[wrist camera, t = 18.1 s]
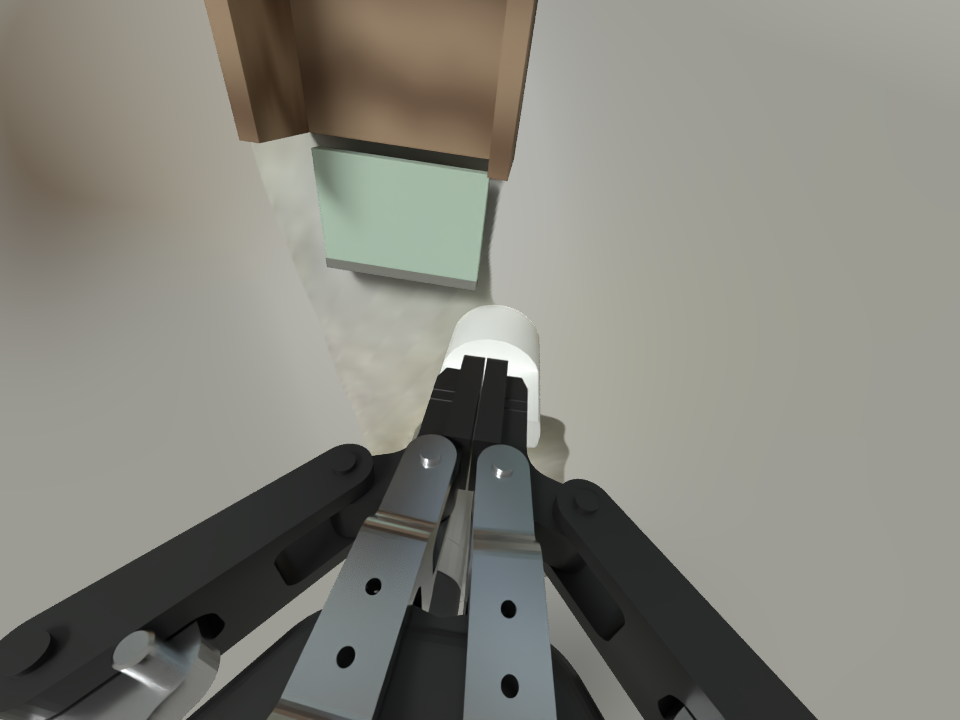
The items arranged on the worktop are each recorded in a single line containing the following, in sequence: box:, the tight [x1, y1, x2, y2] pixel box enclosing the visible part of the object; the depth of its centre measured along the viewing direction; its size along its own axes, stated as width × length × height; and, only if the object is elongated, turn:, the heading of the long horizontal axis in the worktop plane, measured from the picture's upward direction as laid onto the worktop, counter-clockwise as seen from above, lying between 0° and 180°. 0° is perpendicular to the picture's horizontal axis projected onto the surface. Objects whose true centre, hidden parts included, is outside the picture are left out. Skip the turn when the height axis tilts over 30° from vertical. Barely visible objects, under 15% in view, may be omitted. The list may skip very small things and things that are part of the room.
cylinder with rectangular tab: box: [440, 305, 540, 448], centre depth 33 cm, size 9×9×12 cm
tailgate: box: [311, 146, 490, 291], centre depth 29 cm, size 1×13×9 cm
